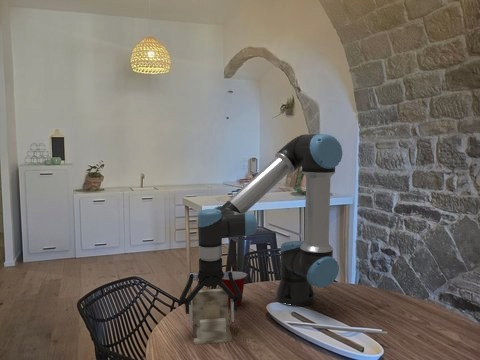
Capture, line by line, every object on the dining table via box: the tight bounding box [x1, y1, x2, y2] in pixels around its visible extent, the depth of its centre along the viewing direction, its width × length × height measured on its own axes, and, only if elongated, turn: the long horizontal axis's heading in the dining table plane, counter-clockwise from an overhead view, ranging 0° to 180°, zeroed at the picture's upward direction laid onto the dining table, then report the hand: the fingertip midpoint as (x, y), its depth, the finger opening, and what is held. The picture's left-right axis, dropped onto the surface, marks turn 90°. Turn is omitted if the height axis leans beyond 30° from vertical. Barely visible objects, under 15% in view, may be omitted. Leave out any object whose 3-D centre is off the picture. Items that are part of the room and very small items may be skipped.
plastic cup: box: [222, 271, 248, 308], centre depth 158 cm, size 11×11×12 cm
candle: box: [203, 300, 220, 320], centre depth 134 cm, size 6×6×10 cm
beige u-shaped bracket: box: [191, 288, 233, 345], centre depth 134 cm, size 12×12×13 cm
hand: (211, 321), depth 134 cm, fingers open, 13 cm apart
